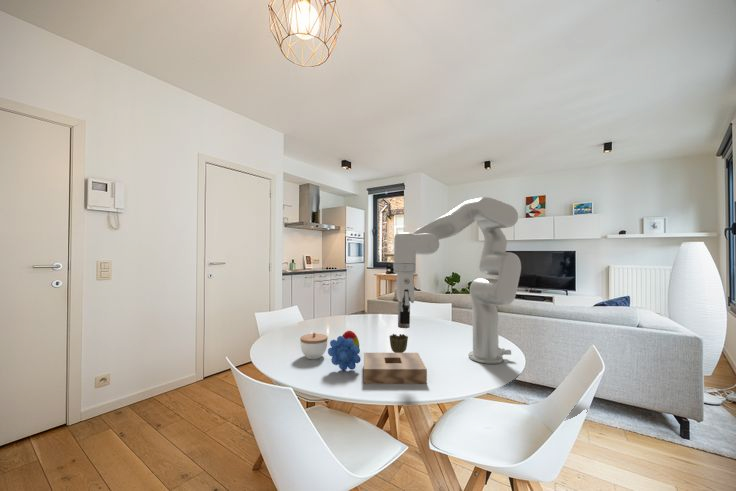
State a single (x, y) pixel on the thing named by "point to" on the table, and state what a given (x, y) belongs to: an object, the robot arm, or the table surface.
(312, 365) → the table surface
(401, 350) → the cup
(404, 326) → the steel peg
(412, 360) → the walnut block
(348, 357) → the grapes
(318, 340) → the lidded jar
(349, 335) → the decorative egg
